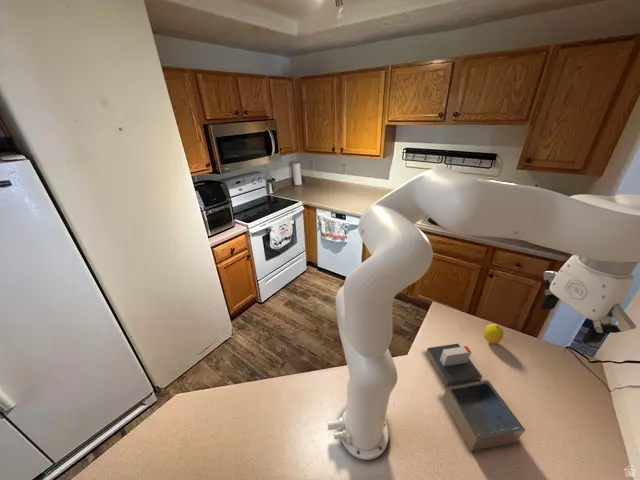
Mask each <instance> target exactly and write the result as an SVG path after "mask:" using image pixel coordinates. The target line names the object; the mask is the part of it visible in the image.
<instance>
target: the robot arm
mask: <svg viewBox="0 0 640 480" xmlns="http://www.w3.org/2000/svg"><path fill="white" fill-rule="evenodd" d="M425 217H429V218H430V219H431V220H432V221H433V222H435V223H436V224H437V225H439V226H440V227H442V228H443V229H444V230H446V231H448V232H450V233H454V234H457V235H466V236H476V237H488V238H499V239H511V240H519V241H520V240H521V241H524V242H527V243H530V244H533V245H537V246H539V247H543V248H547V249H551V250H555V251H559V252H563V253H566V254H571V257H569V258H568V259H567V260H566V262H565V263H563V265H562V267H560V269H559V270H558V271H552V270H547V271H543V282H542V283H543V286H544V292H543V293H544V294H545V295H544V298H543V300H542V301H541V303H542V304H541V305H540V309H541V310H543V311H546V310H547V311H548V310H553V309H555V308H556V306H557V305H558V302H559V301H560V300H561V301H562V302H563V303H564V304H566V305H568V306H569V307H570V308H572V309H573V310H574V311H576V312H578V313H579V314H580V315H582V316H583V317H584V318H586V319H588V320H591V321H592V324H593V327H592V326H591V327H589V329H588V330H587V332H586V333H585V334H584V336H583V337H582V339H581V341H582V343H583V344H592V343H594V344H597V343H600V342H602V340H603V338H605V336H606V335H607V334H608V333H610V334H611V333H612V334H617V333H623V332H628V331H631V330H635V329H636V328H637V325H636V324H635V323H634V321H633V320H632V318H630V316H629V315H628V314H627V313H626V311H625V310H624V309H623V308H622V307H623V305H624V303H625V301H626V299H627V297H628V295H629V293H630V291H631V288H632V286H633V282H634V278H635V277H634V275H633V272H634V270H635V269H636V267H637V266H638V265H639V263H640V194H635V193H634V194H631V193H624V194H617V195H614V196H611V195H609V196H608V195H598V194H597V195H596V194H585V193H584V194H574V195H570V196H568V195H566V194H564V193H560V192H557V191H553V190H550V189H546V188H544V187H538V186H533V185H524V184H519V183H518V184H517V183H510V182H502V181H496V180H489V179H481V178H477V177H474V176H469V175H467V174H465V173H463V172H460V171H457V170H455V169H452V168H449V167H446V166H437V167H433V168H430V169H428V170H425V171H424V172H422V173H419V174H418V175H416V176H414V177H413V178H411V179H409V180H407V181H405V182H404V183H403V184H401V185H400V186H397V188H395V189H393V190H392V191H391V192H388V193H386V195H384V196H383V197H381V198H380V199H378V200H376V201H375V202H373V203H372V204H371V205H369V206H368V207H367V208H366V209H365V210H364V211H363V213H362V214H361V216H360V218H359V219H358V224H357V225H358V226H357V227H358V234H359V237H360V239H361V241H362V242H363V244H364V245H365V247H366V249H367V251H368V252H369V254H370V256H369V257H368V258H367V259H365V260H364V261H362V262H361V263H359V265H357V266H356V267H355V268H354V269H353V270H351V271H350V272H349V273H348V274H347V276H346V277H345V280H344V282H343V285H341V287H340V288H339V289H338V291H337V292H336V295H335V302H334V303H335V312H336V319H337V326H338V327H337V328H338V333H339V338H340V341H341V342H340V343H341V346H342V350H343V354H344V358H345V363H346V365H347V370H348V374H349V379H348V382H347V385H346V406H345V410H344V412H343V413H342V415H341V417H338V419H336V420H335V419H333V420H332V419H331V420H328V421H327V422H326V423H327V431H333V430H336V429H337V430H338V429H339V431H336V432H333V438H334V440H341V442H342V444H343V446H344V448H345V449H346V450H347V451H348V452H349V454H351V455H353V457H355V458H358V459H361V460H366V461H369V460H374V459H376V458H379V457H380V456H381V455H382V454H383V453H384V452H385V450H386V449H387V446H388V442H389V427H388V424H387V421H386V416H387V413H388V412H387V411H388V406H389V401H390V396H391V393H392V392H393V390H394V388H395V387H396V385H397V383H398V370H397V367H396V364H395V361H394V359H393V355H392V354H391V351H390V349H389V348H390V346H391V343H392V339H393V304H394V298H395V297H396V296H397V295H398V294H399V293H400V292H402V291H403V290H405V289H406V288H408V287H409V286H411V285H413V284H414V283H416V282H417V281H419V280H420V279H421V278H423V276H425V275H426V273H427V272H428V271H429V270H430V268H431V265H432V262H433V259H434V250H433V246H432V244H431V242H430V240H429V239H428V237H427V236H426V234H424V232H423V231H422V230H421V229H420V228H419V227H418V226H417V225H415V224H418V222H420V221H422V220H423V219H425ZM612 318H614V319H616V321H617V322H618V324H613V321H612Z"/></svg>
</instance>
